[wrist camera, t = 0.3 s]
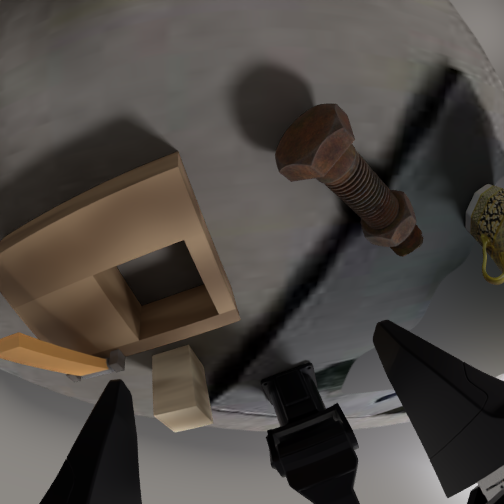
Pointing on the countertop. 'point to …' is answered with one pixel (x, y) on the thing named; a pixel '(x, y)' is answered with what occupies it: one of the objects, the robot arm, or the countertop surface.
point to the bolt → (347, 176)
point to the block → (114, 267)
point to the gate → (51, 356)
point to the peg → (180, 390)
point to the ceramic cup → (488, 226)
